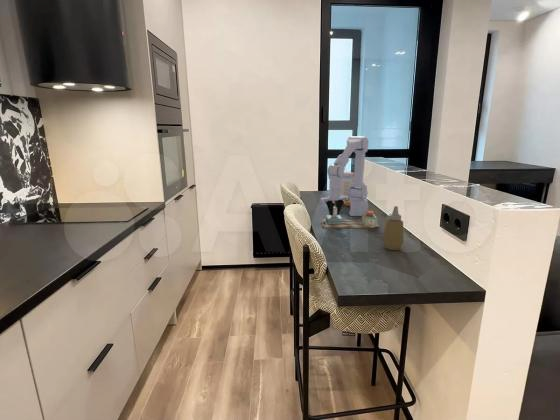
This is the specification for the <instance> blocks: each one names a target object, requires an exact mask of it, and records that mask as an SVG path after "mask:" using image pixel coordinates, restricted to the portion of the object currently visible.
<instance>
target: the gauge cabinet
mask: <svg viewBox="0 0 560 420" xmlns="http://www.w3.org/2000/svg"><path fill="white" fill-rule="evenodd" d="M366 215H367V214H362V216H361V221H362V222H363V223H364V225H371V226H377V224H378V217H377V216H376V214H375V213H374V214H373V217H366Z"/></svg>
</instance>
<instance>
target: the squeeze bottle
mask: <svg viewBox="0 0 560 420" xmlns="http://www.w3.org/2000/svg"><path fill="white" fill-rule="evenodd" d="M385 221H386V222H385V226H384V232H383V233H384V234H383V238H382V239H383V244H384V247H385V249H387V250H389V251H390V250H391V251H399V250H400V249H401V248H402V245H403V243H404V238H405V237H404V221H403V220H402V215H401V214H399V207H398V206H396V205H394V207H393V210H392V213H390V214H389V215H388V219H386V220H385Z"/></svg>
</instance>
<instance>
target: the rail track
mask: <svg viewBox="0 0 560 420" xmlns="http://www.w3.org/2000/svg"><path fill="white" fill-rule="evenodd" d="M321 226H322V228H338V229H339V228H347V229H348V228H358V229H359V228H360V229H362V228H363V229H366V228H367V229H369V228H370V229H374V227H379V228H380V225H379V223H377V226H371V225H364V223H363V222H362V219H342V224H328V222H327V219H326V218H322V220H321Z"/></svg>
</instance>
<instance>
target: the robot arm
mask: <svg viewBox="0 0 560 420" xmlns="http://www.w3.org/2000/svg"><path fill="white" fill-rule="evenodd" d="M368 148H369V139H368V137H367V135H366V136H353V135H352V136H351V135H350V136H348V138H347V139H346V147H345V148H344V150H343V152H342V153H341V154H339V155H338V156H337V157H336V159H335V160H334V162H333V163H332V164H330V165H329V166H328V167H327V171H326V172H327V176H328V180H329V187H328V188H329V189H328V190H329V193H328V196H325V197H321V198H320V202H321V203H325V205H326V207H327V209H328V213H329V214H328V215H331V216H333V207H337V215H340V211H341V209H342V207H343V206H344V205H343V204H344V201H343V200H348V196H349V198H350V199H351V206H349V208H350V210H349V211H348V214H349V216H350V217H362V214H366V213H365V212H366V211H369V210H368V207H369V203H368V199H367V197H368V193H369V192H368V186H367V185H366V184H365V183H364V171H365V159H366V153H367V152H368V150H369V149H368ZM353 153H354V154H355V160H354V161H355V162H354V172H353V173H354V182H353V183H352V184H350V185H349V189H348V196H341V176H342V175H343V173H344V172H345V167H346V166H347V165H348V163H349V161H350V159H349V157H350V156H351V155H352V154H353ZM332 201H335V204H334V203H333V202H332Z"/></svg>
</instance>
